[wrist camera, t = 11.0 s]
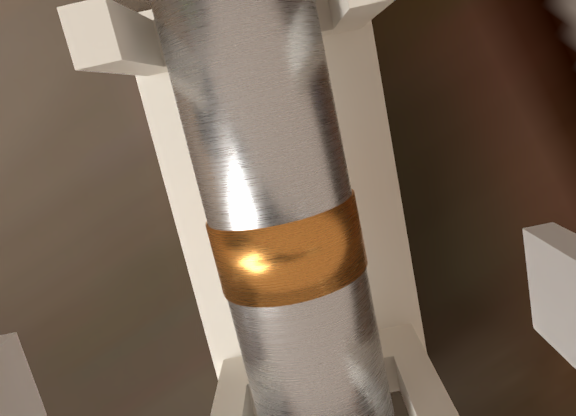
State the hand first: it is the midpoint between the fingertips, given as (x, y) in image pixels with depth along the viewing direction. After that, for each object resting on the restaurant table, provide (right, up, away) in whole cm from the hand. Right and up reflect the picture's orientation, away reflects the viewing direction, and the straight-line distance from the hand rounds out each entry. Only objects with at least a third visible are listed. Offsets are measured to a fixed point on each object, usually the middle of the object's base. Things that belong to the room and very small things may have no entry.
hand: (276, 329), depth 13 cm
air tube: (0, +3, +11) cm, 12 cm away
